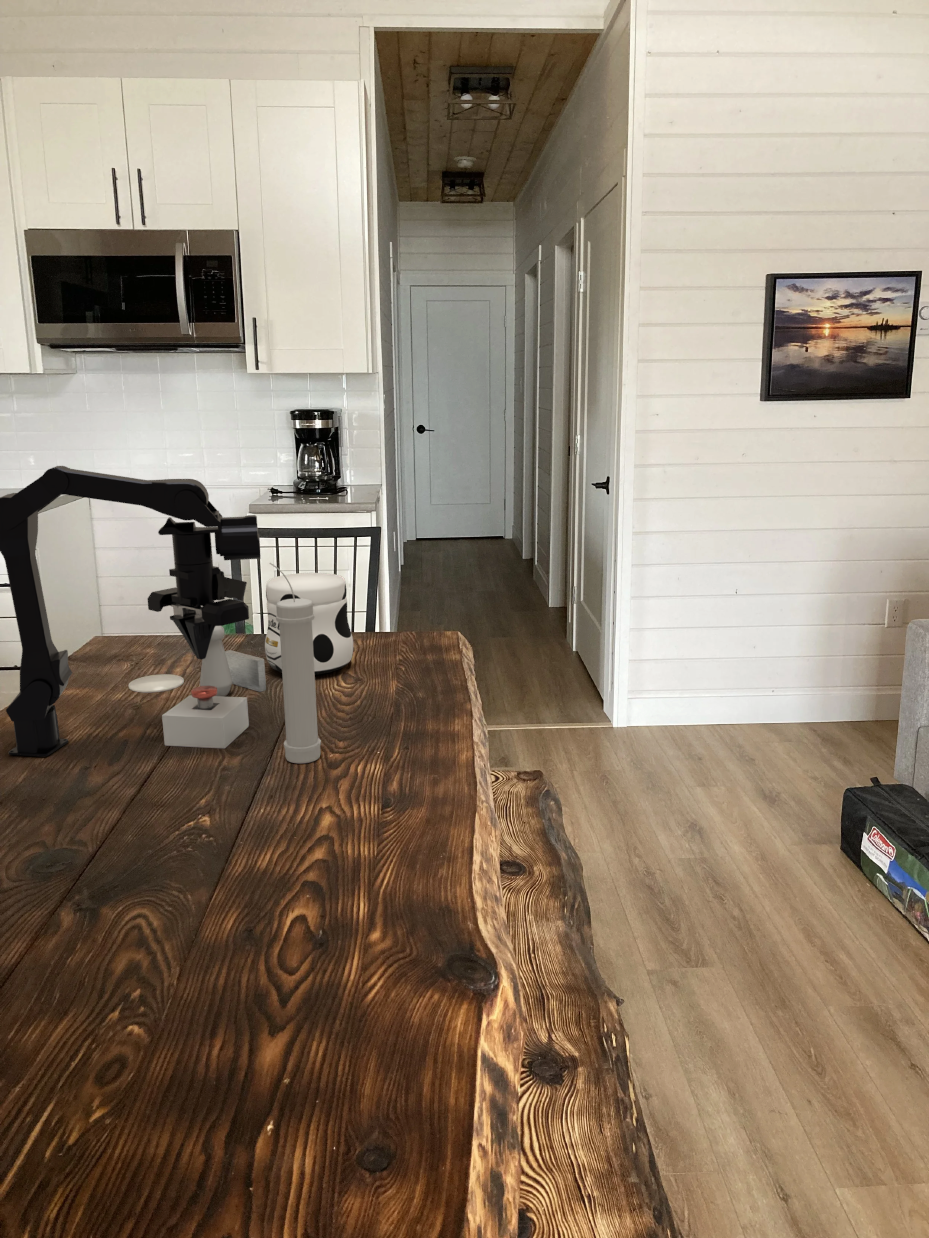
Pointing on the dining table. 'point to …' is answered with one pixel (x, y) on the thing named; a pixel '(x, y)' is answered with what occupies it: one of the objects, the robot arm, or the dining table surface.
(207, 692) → the plunger
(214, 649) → the salt shaker
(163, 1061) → the dining table surface
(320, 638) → the milk container
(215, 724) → the button block
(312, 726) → the grey cylinder
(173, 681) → the coaster
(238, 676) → the flat rectangular plate
